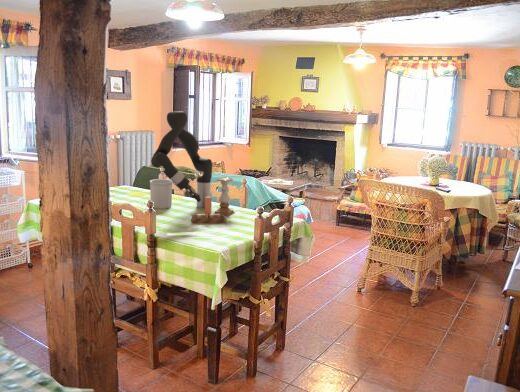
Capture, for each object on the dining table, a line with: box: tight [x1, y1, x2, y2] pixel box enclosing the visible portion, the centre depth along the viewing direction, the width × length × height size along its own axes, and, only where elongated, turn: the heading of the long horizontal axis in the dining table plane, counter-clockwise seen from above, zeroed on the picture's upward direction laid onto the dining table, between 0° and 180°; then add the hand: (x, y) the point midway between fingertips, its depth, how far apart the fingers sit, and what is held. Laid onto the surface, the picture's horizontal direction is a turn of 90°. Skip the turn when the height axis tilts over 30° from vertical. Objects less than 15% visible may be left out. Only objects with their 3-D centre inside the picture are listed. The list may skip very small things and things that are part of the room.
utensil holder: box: [149, 178, 173, 210], centre depth 314 cm, size 15×15×18 cm
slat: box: [204, 197, 212, 216], centre depth 278 cm, size 4×2×14 cm, turn 101°
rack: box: [190, 213, 227, 225], centre depth 277 cm, size 20×11×4 cm, turn 101°
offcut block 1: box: [197, 213, 208, 218], centre depth 274 cm, size 6×3×4 cm, turn 101°
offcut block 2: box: [209, 213, 220, 218], centre depth 275 cm, size 6×3×4 cm, turn 101°
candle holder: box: [213, 177, 236, 217], centre depth 295 cm, size 11×11×24 cm
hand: (199, 199), depth 276 cm, fingers open, 8 cm apart
